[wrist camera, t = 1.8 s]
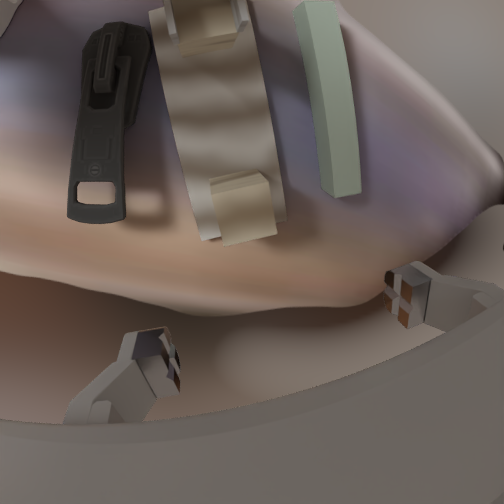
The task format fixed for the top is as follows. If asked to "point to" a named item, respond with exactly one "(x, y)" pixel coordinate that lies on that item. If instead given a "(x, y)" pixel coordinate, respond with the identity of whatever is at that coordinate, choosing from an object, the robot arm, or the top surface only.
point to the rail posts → (220, 117)
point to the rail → (329, 97)
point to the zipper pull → (107, 115)
